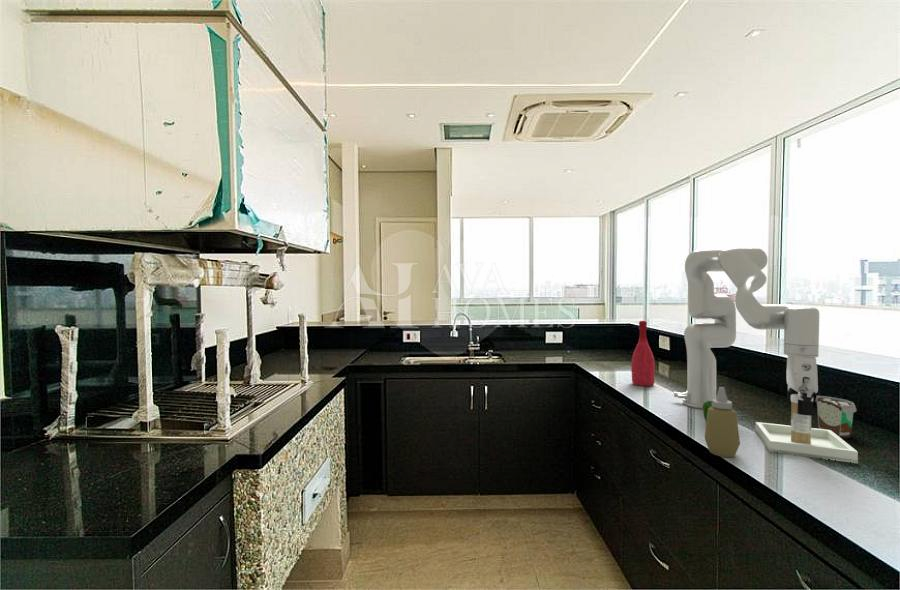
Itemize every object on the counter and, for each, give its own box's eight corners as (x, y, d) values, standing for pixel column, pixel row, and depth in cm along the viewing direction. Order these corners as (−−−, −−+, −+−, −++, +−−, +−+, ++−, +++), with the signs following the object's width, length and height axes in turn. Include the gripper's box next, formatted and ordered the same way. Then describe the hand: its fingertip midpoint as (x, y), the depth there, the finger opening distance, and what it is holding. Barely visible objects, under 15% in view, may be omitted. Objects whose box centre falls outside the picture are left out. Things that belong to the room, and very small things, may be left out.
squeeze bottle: (697, 448, 116) (697, 384, 115) (724, 447, 116) (724, 383, 116) (718, 460, 107) (718, 391, 107) (747, 459, 108) (747, 390, 108)
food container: (868, 440, 120) (868, 406, 120) (843, 439, 121) (843, 405, 121) (837, 427, 132) (837, 396, 132) (815, 426, 133) (815, 395, 133)
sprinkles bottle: (794, 438, 120) (794, 392, 120) (814, 443, 116) (814, 396, 116) (787, 441, 118) (787, 394, 118) (807, 446, 114) (807, 398, 114)
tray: (770, 451, 113) (770, 440, 113) (755, 431, 129) (755, 421, 129) (857, 463, 105) (857, 451, 105) (830, 440, 121) (830, 430, 121)
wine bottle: (658, 386, 189) (658, 321, 188) (637, 386, 189) (636, 321, 189) (648, 382, 199) (648, 319, 198) (628, 382, 199) (627, 320, 198)
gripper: (829, 356, 107) (828, 421, 108) (807, 346, 123) (806, 403, 123) (793, 354, 111) (792, 417, 111) (776, 345, 126) (775, 400, 127)
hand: (799, 409), depth 117 cm, fingers open, 9 cm apart
